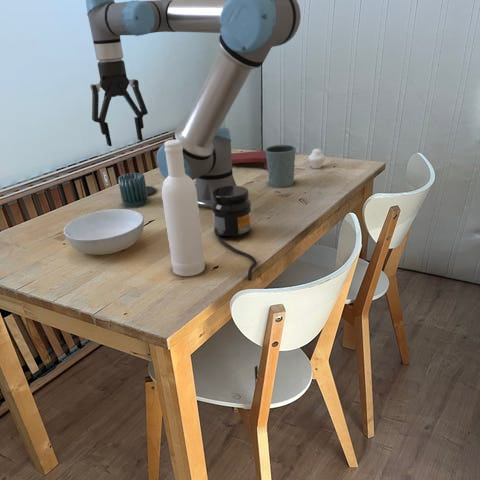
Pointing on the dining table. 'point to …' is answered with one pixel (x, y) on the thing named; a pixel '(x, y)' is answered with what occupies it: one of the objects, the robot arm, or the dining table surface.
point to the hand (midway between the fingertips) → (125, 142)
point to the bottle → (182, 214)
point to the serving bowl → (104, 231)
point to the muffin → (316, 158)
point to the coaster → (150, 190)
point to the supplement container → (231, 212)
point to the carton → (250, 157)
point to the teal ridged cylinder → (133, 190)
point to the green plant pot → (280, 165)
